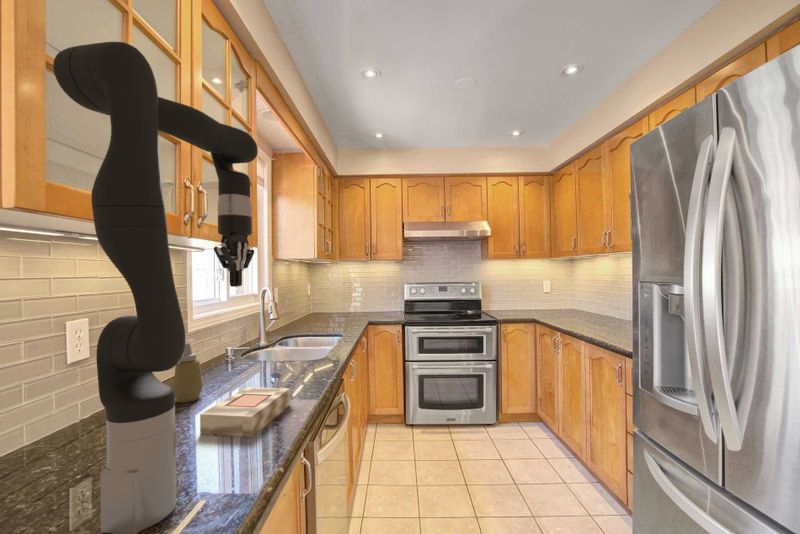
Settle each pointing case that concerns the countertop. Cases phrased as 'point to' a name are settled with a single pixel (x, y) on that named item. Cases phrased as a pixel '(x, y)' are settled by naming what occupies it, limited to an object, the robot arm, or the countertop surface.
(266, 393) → the button housing
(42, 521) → the countertop surface
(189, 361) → the squeeze bottle
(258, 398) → the button
